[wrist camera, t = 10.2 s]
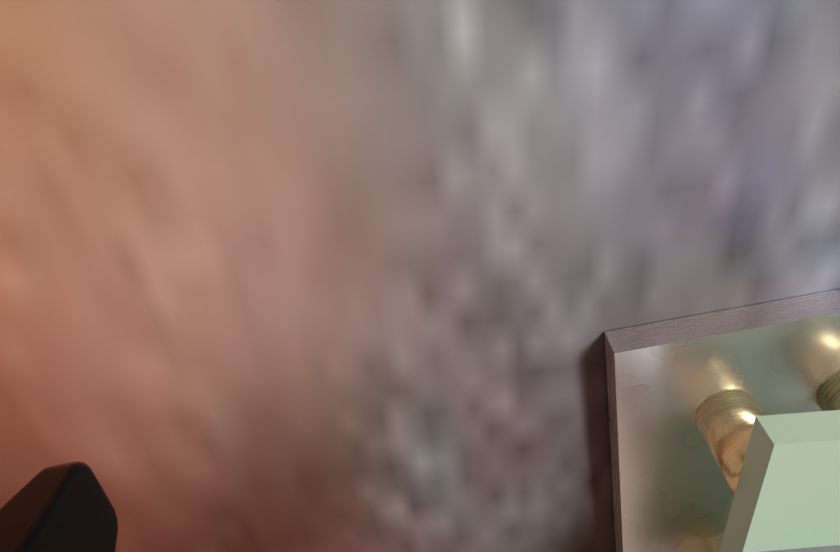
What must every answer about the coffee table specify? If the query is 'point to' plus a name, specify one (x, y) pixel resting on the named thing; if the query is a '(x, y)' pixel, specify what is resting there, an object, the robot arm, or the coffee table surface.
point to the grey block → (788, 486)
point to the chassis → (707, 410)
